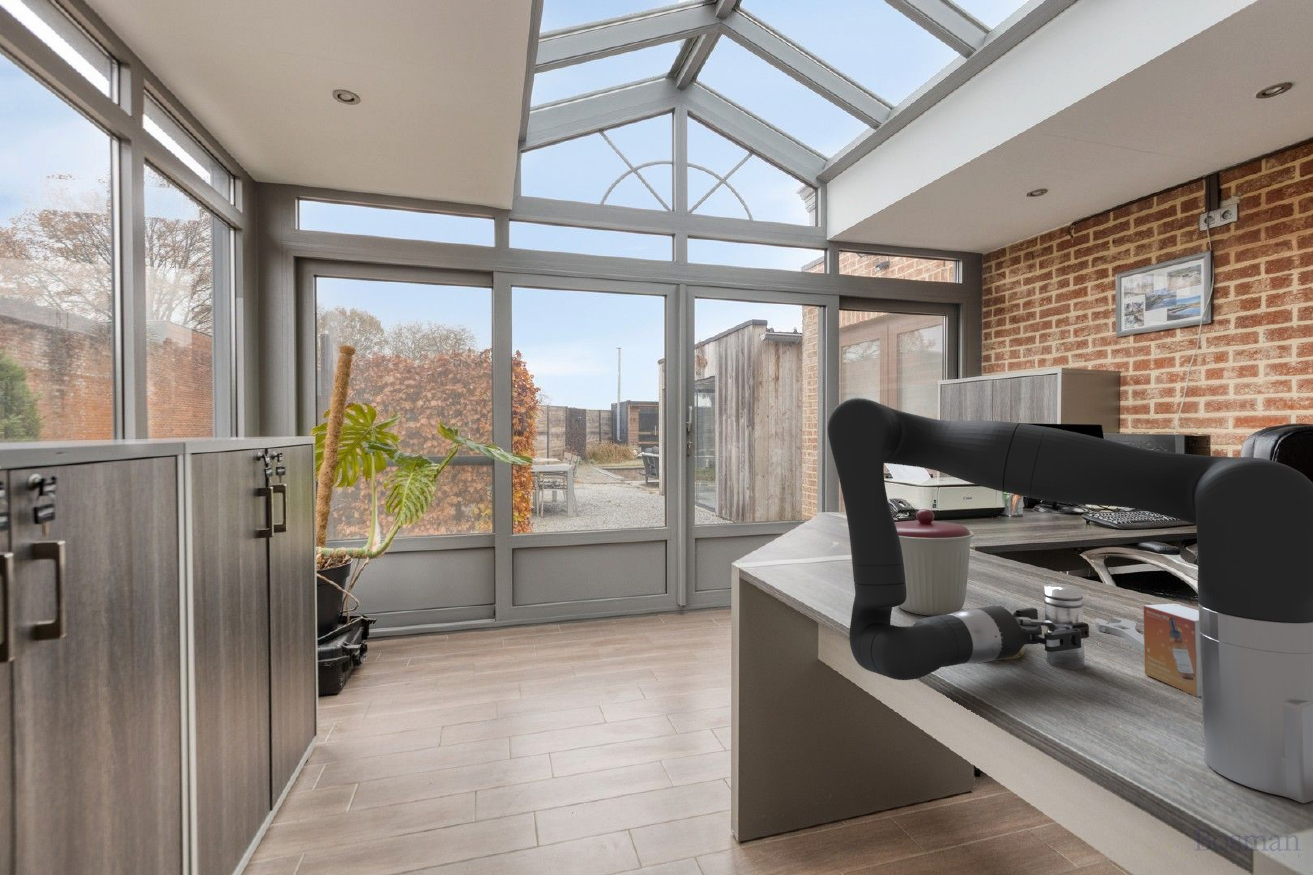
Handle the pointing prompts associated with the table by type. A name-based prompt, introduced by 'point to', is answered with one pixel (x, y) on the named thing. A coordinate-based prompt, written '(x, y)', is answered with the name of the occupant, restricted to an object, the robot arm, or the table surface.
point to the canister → (934, 564)
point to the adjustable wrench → (1121, 630)
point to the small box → (1173, 646)
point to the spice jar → (1064, 621)
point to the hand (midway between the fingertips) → (1060, 621)
